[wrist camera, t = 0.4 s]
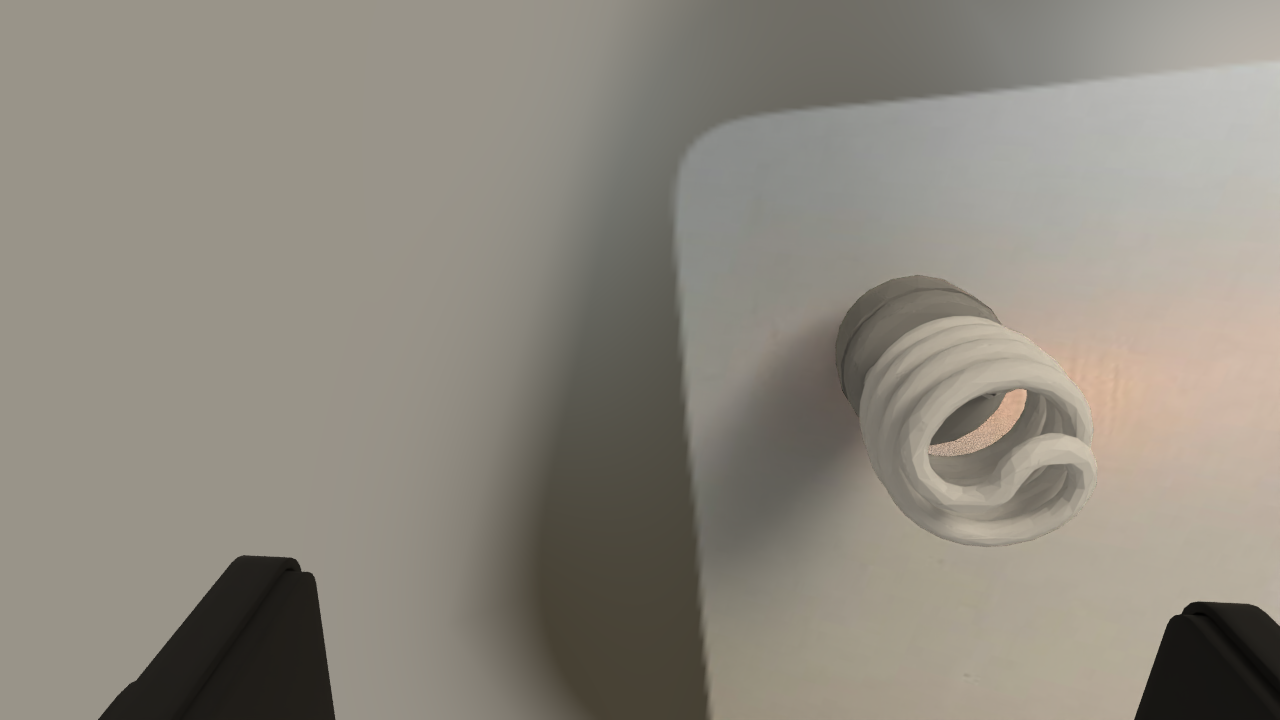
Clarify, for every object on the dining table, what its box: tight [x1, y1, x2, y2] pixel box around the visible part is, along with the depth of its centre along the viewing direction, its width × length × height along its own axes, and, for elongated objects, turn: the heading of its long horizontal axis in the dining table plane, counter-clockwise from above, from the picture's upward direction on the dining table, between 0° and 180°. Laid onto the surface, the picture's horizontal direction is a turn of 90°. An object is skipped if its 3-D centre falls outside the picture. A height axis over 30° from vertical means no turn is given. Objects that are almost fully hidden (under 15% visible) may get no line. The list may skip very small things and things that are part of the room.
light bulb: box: [836, 275, 1097, 547], centre depth 25 cm, size 6×6×12 cm
